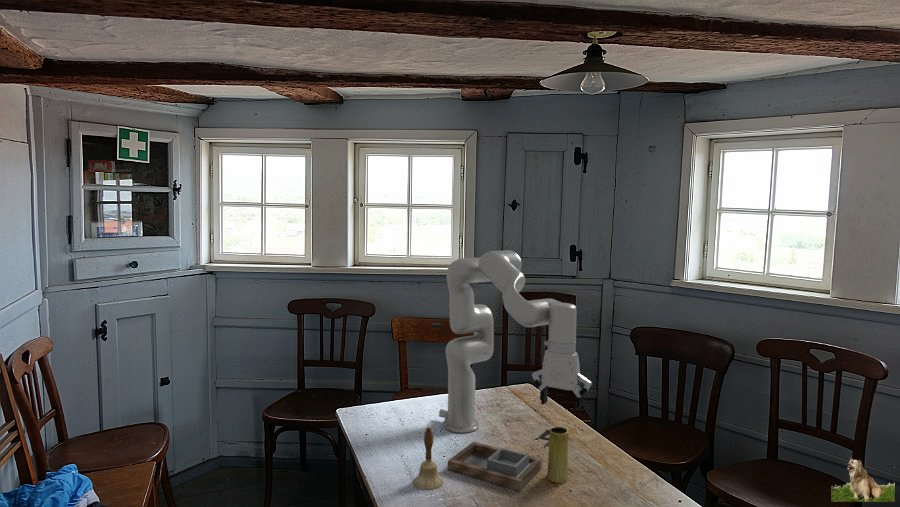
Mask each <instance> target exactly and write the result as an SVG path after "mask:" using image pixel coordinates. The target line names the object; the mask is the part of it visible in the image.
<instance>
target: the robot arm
mask: <svg viewBox="0 0 900 507" xmlns="http://www.w3.org/2000/svg"><path fill="white" fill-rule="evenodd" d="M521 269H522V259H521V257H520V256H519V255H518V253H517V252H515V251H513V250H509V249H507V250H490V251H487V252H485V253H483V254H482V255H481V256H479V257H465V258H464V257H463V258H460V259H459V258H458V259H455V260H454V261H452V262H451V263H450V264H449V265H448V268H447V270H446V283H447V287H448V291H449V326H450V329H451V331H452V332H453V333H454V334H458V335H464V334H466V336H462V337H455V338H453V339H452V340H450V341H449V342H448V343H447V345H446V347H445V357H446V363H447V371H448V372H447V373H448V374H447V376H448V378H447V386H448V387H447V409H441V408H440V410H439V413H438V417H440V418H444V421H443V422H442V425H443V428H444V429H446V430H447V431H449V432H452V433H460V434H464V433H471V432H474V431H476V430H478V429H479V427H480V422H479V421H478V419H475V418H476V414H475V413H476V375H475V372H474V371H473V369H472V367H471V365H473V364H476V363H477V364H478V363H480V362H485V361H489V360H490V359H491V357H492V356H493V355H494V354H493V353H494V347H495V346H494V340H495V338H494V336H495V334H494V317H493V312H492V311H491V309H490V308H489V307H488V306H487V305H486V304H479V303H478V304H475V293H474V291H473V289H472V286H470V284H474V283H477V284H478V283H487V282H491V283H492V285H494V286H495V287H496V288H497V289H498V290H500V292H502V302H503V306H504V309H505V310H506V312H507V313H508V314H509V315H510V316H511V318H512V319H513V320H514V321H515V322H517V323H518V324H519V325H521V326H523V327H525V328H535V327H539V326H540V327H541V326H548V339H547V340H544V341H543V346H546V347H547V349H546V350H545V351H544V355H543V361H542V369H539V370H536V371H534V372H532V373H531V376H532V378H533V379H532V380H533V381H534V384H535V385H536V386H537V388H538V390H539V392H540V393H539V398H540V399H539V400H540V401H541V402H540V404H541V405H545V404H547V402H548V400H549V399H548V398H549V397H548V396H549V395H548V394H549V392H548V388H553V389H554V388H555V389H559V390H565V391H572V392H573V394H574V395H575V396H574V398H573V411H574V412H577V411H579V409H581V408H582V404H583V403H582V400H583V399H582V396H583V395H585V394H586V393H587V392H588V391H589V390H590V388H591V386H592V384H593V383H592V381H591V380H589V379H588V378H587V377H585V376H584V375H582V374H581V369H580V358H579V354H578V352H577V351H576V349H577V348H576V345H577V344H576V343H577V342H576V341H577V340H576V339H577V307H576V305H574V304H572V303H569V302H568V303H567V302H562V301H559V300H556V299H554V298H542V299H539V298H538V299H532V300H527V299H525V298H524V297H523V296H522V295H521V294H520V292H521V291H522V290H523V288H524V286H525V284H526V277H525V275H524V274H523V273H522V272H521ZM471 333H472V334H473V335H468V336H467V334H471ZM540 375H541V378H540V377H539V376H540ZM580 383H583V384H584V387H583V388H581V387H580ZM547 387H548V388H547Z"/></svg>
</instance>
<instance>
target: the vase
mask: <svg viewBox="0 0 900 507" xmlns="http://www.w3.org/2000/svg"><path fill="white" fill-rule="evenodd" d="M549 430H550V434H548V435H549V437H548V438H549V441H548V442H549V446H548V456H547V457H548V458H547V472H546V473H547V474H546V479H547V480H548V481H550V482H552V483H557V484H562V483H566V482H567V481H568V480H569V476H568V464H569V463H568V460H569V459H568V458H569V457H568V449H569V448H568V445H569V430H568V428H566V427H563V426H552V427H550V428H549Z"/></svg>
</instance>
